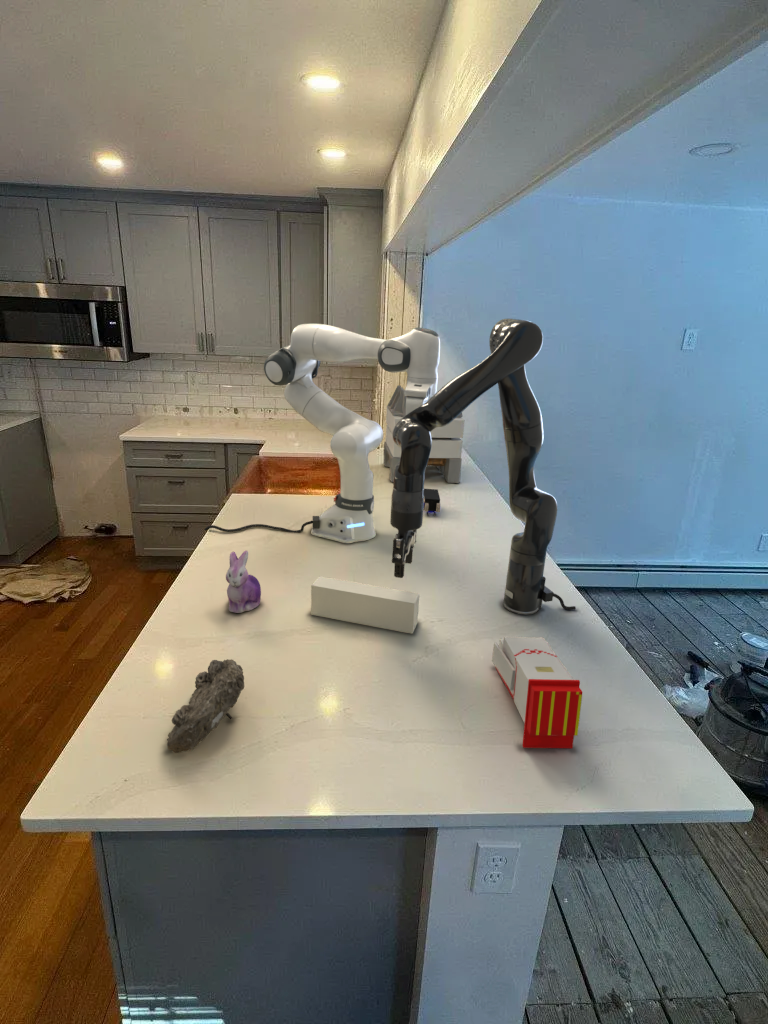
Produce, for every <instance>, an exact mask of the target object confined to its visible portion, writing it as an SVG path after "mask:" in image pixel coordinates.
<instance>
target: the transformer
mask: <svg viewBox="0 0 768 1024" xmlns="http://www.w3.org/2000/svg"><path fill="white" fill-rule="evenodd" d="M406 398H407V396H405V388H403V387H402V385H399V384H398V385H397V386H396V388H395V390H394V392H393V394H392V395H391V398H390V400H389V402H388V404H387V405H386V413H385V414H386V415H385V423H386V428H385V438H384V442H383V466H384V467H388V468H389V475H388V476H389V477H388V478H389V480H390V482H391V483H394V470H395V466H396V465H397V463H399V462H400V458H401V448H400V447H398V446H397V445H396V444H395V442H394V440H393V436H392V434H393V429H394V427H395V426H396V424H397V423H398V422H399V421H400V420H401V419H402V418H403V417H404V416H406ZM464 429H465V419H464V418H463V412H462V413H461V414H459V415H458V416H457V417H456V418H455V419H454V420H453V421H452V422H451V423H449V424H448V425H447V426H444V427H437V428H435V429H434V430H432V431H431V432H430V433H431V438H432V446H431V452H430V456H429V459H428V463H427V466H426V467H436V468H437V470H438V469H439V473H440V474H441V475H443V478H444V479H445V481H446V482H447V483H449V484H455V483H456V484H459V483H461V472H462V461H463V460H462V453H463V442H464V441H463V440H462V439H463V438H464V431H465V430H464Z"/></svg>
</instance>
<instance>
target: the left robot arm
mask: <svg viewBox="0 0 768 1024" xmlns="http://www.w3.org/2000/svg"><path fill="white" fill-rule="evenodd" d="M440 358H441V339H440V335H439V333H438V332H436V331H434V330H433V329H429V328H424V327H414V328H412V329H411V330H410V331H408V332H406V333H405V334H403V335H400V336H397V337H392V338H389V339H385V338H377V337H372V336H371V337H370V336H366V335H364V334H360V333H357V332H354V331H350V330H347V329H344V328H341V327H338V326H335V325H330V324H323V323H301V324H298V325H296V326H295V327H294V328H293V330H292V332H291V333H290V343H289V345H286V346H284V347H280V348H278V349H277V350H275V351H274V352H272V353H271V354H270V355H268V356H267V357H266V359H265V361H264V363H263V371H264V372H263V373H264V374H265V377H266V378H267V380H268V381H269V382H270V383H271V384H273V385H275V386H280V387H281V386H285V388H284V391H283V396H284V399H285V400H286V401H287V403H288V405H290V407H292V409H294V411H296V412H297V413H298V414H299V415H300V416H301V417H302V418H303V419H305V420H306V421H307V422H308V423H309V424H311V425H312V426H313V427H314V428H316V429H317V430H318V431H320V432H321V433H324V434H328V435H331V436H332V437H331V438H330V442H329V444H330V445H329V446H330V451H331V454H332V455H333V456H334V457H335V458H336V459H337V463H338V468H339V474H340V475H339V476H340V488H339V489H340V490H339V491H338V492H337V494H336V495H335V496H334V497H333V502H334V504H333V505H331V506H329V507H328V508H326V509H325V510H323V512H321V514H320V515H312V520H310V521H309V520H308V521H306V522H304V523H302V524H301V526H300V529H298V530H294V529H293V530H292V529H288V528H286V527H281V526H273V525H269V524H262V523H255V524H247V525H244V526H241V527H238V528H237V527H236V528H232V529H231V528H229V529H228V528H223V527H221V526H218V525H214V524H211V525H208V526H206V527H205V528H204V529H203V531H209V530H210V529H215V530H218V531H221V532H225V533H235V532H240V531H244V530H246V529H250V528H264V529H265V528H267V529H270V530H277V531H282V532H286V533H294V534H295V533H297V534H300V533H302V532H304V529H305V527H306V526H309V525H312V528H311V530H310V533H311V536H315V537H319V538H323V539H326V540H330V541H336V542H339V543H343V544H352V543H357V542H365V541H368V540H372V539H373V538H375V537H376V535H377V532H376V528H375V523H374V513H373V512H374V509H375V496H374V473H373V471H372V470H371V468H370V463H369V454H370V453H371V452H374V451H375V450H376V449H377V448H378V447H379V446H380V445H381V444H382V442H383V440H384V430H383V428H382V426H381V425H380V424H379V423H378V422H377V421H375V420H371V419H369V418H366V417H364V416H363V415H361V414H358V413H357V412H355V411H354V410H351V409H349V408H347V407H346V406H344V405H342V404H341V403H339V402H338V401H337V400H336V399H335V398H333V397H332V396H330V395H329V394H328V393H326V392H325V391H324V390H322V389H321V388H320V387H319V386H317V384H315V383H314V381H313V379H315V378H316V377H317V376H318V372H319V368H320V366H321V362H322V363H323V362H324V363H343V362H350V361H356V360H362V359H372V360H377V362H378V364H379V366H380V367H381V368H382V370H383V371H386V372H389V373H393V374H395V373H396V374H397V373H404V372H406V374H407V376H406V377H407V378H406V384H405V385H406V386H405V388H404V390H405V396H407V398H406V415H407V414H408V413H410V412H412V411H413V410H415V409H416V408H418V407H419V406H421V405H423V404H425V403H426V402H427V401H428V400H429V399H430V398H431V397H432V396H434V395H435V394H436V393H437V392H438V381H439V375H438V369H439V365H440Z"/></svg>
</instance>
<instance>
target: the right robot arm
mask: <svg viewBox="0 0 768 1024" xmlns="http://www.w3.org/2000/svg"><path fill="white" fill-rule="evenodd" d="M543 342H544V335H543V330H542V329H541V328H540V326H539V325H538V324H537V323H535V322H533V321H529V320H527V319H519V318H503V319H500V320H499V321H497V322H496V323H495V324H494V325H493V327H492V329H491V331H490V334H489V342H488V343H489V350H490V351H489V352H490V354H489V355H488V356H487V357H486V358H485V359H483V360H482V361H480V362H478V364H476V365H474V366H472V367H471V368H469V369H468V370H465V371H464V372H462V373H461V374H459V375H457V376H455V377H454V378H452V379H451V380H449V381H448V382H447V383H446V384H444V385H443V386H442V387H441V388H440V389H438V390H437V393H436V394H435V395H432V397H431V398H430V399H429V400H428V401H427V402H426V403H425V404H423V405H421V406H419V407H418V408H416V409H415V410H413V411H412V412H410V413H408V414H407V415H406V416H404V417H403V418H402V419H401V420H400V421H399V422H398V423H397V424H396V426H395V427H394V429H393V434H392V436H393V440H394V442H395V444H396V445H397V446H398V447H400V448H401V458H400V462H399V463H397V465H396V466H395V470H394V482H393V485H392V486H393V488H392V492H391V503H390V521H389V522H390V523H389V524H390V526H391V527H393V529H396V530H397V533H395V537H394V538H393V539H392V554H391V555H392V556H391V564H394V569H393V570H394V571H393V577H395V578H399V579H403V578H404V577H405V564H408V565H410V564H412V563H413V558H414V557H413V556H414V555H413V554H414V549H415V545H416V544H417V535H418V534H417V532H418V529H421V527H422V526H423V520H424V508H423V507H424V489H425V478H426V477H425V476H426V469H427V467H428V466H427V463H428V459H429V456H430V452H431V446H432V438H431V433H430V432H431V431H432V430H434V429H435V428H437V427H444V426H447V425H448V424H449V423H451V422H452V421H453V420H454V419H455V418H456V417H457V416H458V415H459V414H461V413H462V414H463V412H464V411H466V409H467V408H468V407H470V405H472V404H473V403H474V402H475V401H476V400H477V399H479V398H480V397H481V396H483V395H484V394H485V393H486V392H487V391H489V390H490V389H491V388H493V387H494V386H496V385H497V388H498V395H499V396H498V397H499V403H500V404H499V405H500V410H501V419H502V421H501V422H502V428H503V429H502V431H503V438H504V439H503V440H504V444H505V450H506V460H507V469H508V502H509V508H510V512H511V514H512V515H513V516H514V517H515V518H516V519H517V520H518V521H521V522H522V523H525V524H524V529H523V532H518V533H515V534H514V535H512V537H511V539H510V540H511V541H510V549H509V557H508V564H507V572H506V579H505V587H504V593H503V595H504V596H503V601H502V606H503V607H504V609H506V610H507V611H509V612H511V613H514V614H516V615H525V616H526V615H527V616H528V615H533V614H536V613H537V612H538V611H539V610H542V605H543V602H544V603H548V602H553V600H554V599H553V598H555V599H557V600H558V601H559V603H560V607H561V608H562V609H564V610H566V611H575V610H576V608H577V607H576V606H574V605H571V606H567V605H565V602H564V599H563V598H562V597H561V596H560V595H559V594H557V593H555V592H554V591H553V590H551V589H550V588H549V587H547V586H546V579H547V578H546V577H545V575H544V572H545V565H546V559H547V558H546V557H547V551H548V547H549V545H550V542H551V541H552V539H553V534H554V530H555V526H556V521H557V516H558V502H557V499H556V498H555V497H554V495H552V494H551V493H548V492H546V491H545V490H544V491H543V490H542V489H540V488H538V487H537V482H536V477H535V464H536V461H537V459H538V458H539V457H538V456H539V455H540V452H541V450H542V448H543V444H544V435H545V434H544V424H543V417H542V415H543V414H542V411H541V408H540V405H539V403H538V400H537V399H536V396H535V394H534V391H533V390H532V388H531V386H530V383H529V381H528V377H527V373H526V365H527V364H528V363H530V362H531V361H532V360H534V359H535V357H537V356H538V354H539V353H540V351H541V349H542V347H543ZM399 555H400V557H398V556H399Z"/></svg>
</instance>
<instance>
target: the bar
mask: <svg viewBox="0 0 768 1024" xmlns="http://www.w3.org/2000/svg"><path fill="white" fill-rule="evenodd" d="M420 595H421V594H420V592H415V591H410V590H403V589H399V588H398V589H397V588H392V587H387V586H381V585H380V586H379V585H374V584H368V583H363V582H362V583H361V582H357V581H351V580H346V579H345V580H344V579H340V578H334V577H327V576H322V575H319V576H318V577H317V578H316V579H315V580H314V582H313V583H311V585H310V600H311V601H310V615H312V616H317V617H321V618H327V619H332V620H337V621H343V622H347V623H353V624H358V625H363V626H369V627H374V628H380V629H385V630H390V631H396V632H401V633H406V634H412V635H413V634H414V632H415V630H416V627H417V626H418V622H419V609H420V607H419V606H420Z"/></svg>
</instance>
